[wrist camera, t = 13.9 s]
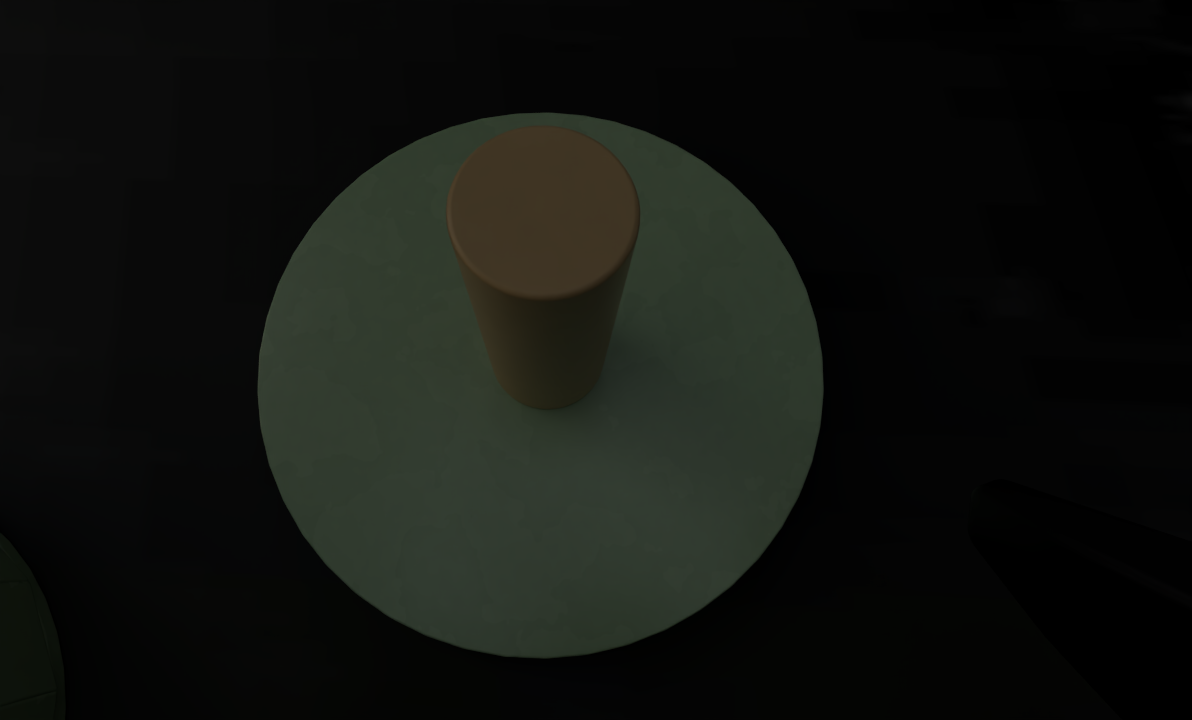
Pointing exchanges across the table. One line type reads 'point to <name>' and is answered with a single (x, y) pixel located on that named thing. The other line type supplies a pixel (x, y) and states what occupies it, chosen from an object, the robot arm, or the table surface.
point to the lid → (540, 385)
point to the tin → (27, 645)
